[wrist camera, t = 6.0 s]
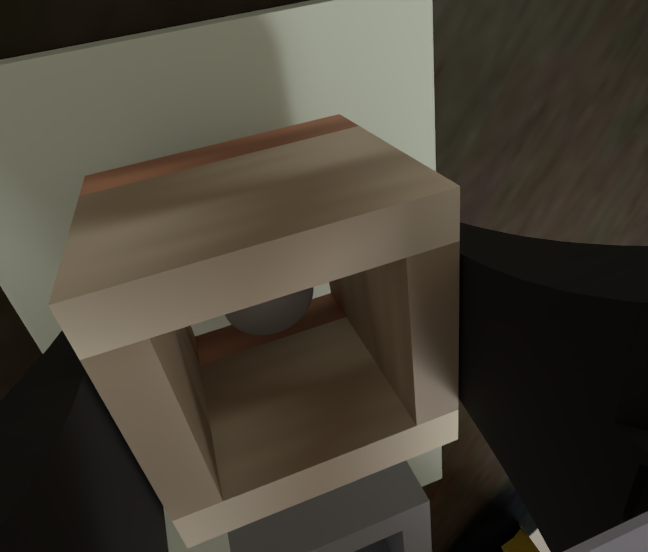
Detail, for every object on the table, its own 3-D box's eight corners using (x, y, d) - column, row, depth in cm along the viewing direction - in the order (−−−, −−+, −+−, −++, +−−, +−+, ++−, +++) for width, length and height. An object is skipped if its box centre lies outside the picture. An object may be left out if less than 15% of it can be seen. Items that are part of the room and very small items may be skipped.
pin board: (184, 551, 21) (195, 683, 17) (-93, 77, 11) (-238, 131, 6) (426, 453, 24) (486, 548, 20) (403, -18, 13) (528, -22, 9)
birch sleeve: (171, 372, 13) (187, 548, 9) (85, 175, 10) (48, 305, 6) (363, 309, 14) (458, 439, 10) (339, 114, 11) (460, 186, 7)
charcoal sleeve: (248, 526, 20) (278, 667, 16) (211, 437, 17) (235, 583, 12) (375, 475, 21) (433, 594, 17) (361, 383, 18) (429, 500, 14)
